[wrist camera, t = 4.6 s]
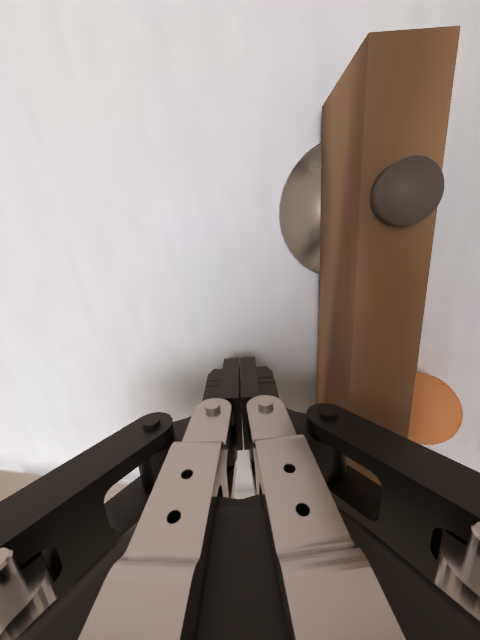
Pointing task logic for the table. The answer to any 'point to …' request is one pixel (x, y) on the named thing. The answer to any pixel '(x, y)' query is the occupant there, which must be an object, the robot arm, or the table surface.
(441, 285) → the table surface
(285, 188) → the pin plate
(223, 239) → the table surface
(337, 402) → the lever
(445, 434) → the ball
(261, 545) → the robot arm
